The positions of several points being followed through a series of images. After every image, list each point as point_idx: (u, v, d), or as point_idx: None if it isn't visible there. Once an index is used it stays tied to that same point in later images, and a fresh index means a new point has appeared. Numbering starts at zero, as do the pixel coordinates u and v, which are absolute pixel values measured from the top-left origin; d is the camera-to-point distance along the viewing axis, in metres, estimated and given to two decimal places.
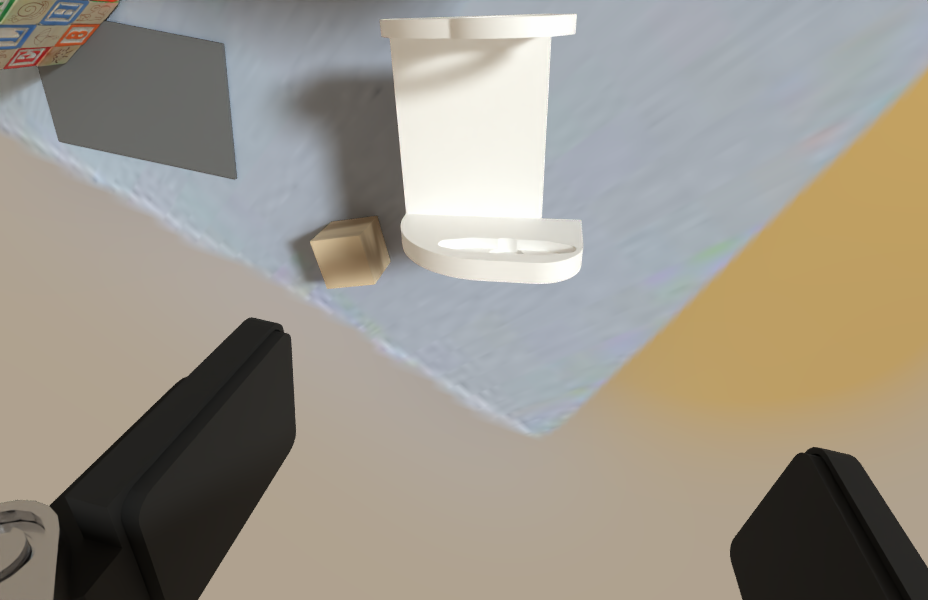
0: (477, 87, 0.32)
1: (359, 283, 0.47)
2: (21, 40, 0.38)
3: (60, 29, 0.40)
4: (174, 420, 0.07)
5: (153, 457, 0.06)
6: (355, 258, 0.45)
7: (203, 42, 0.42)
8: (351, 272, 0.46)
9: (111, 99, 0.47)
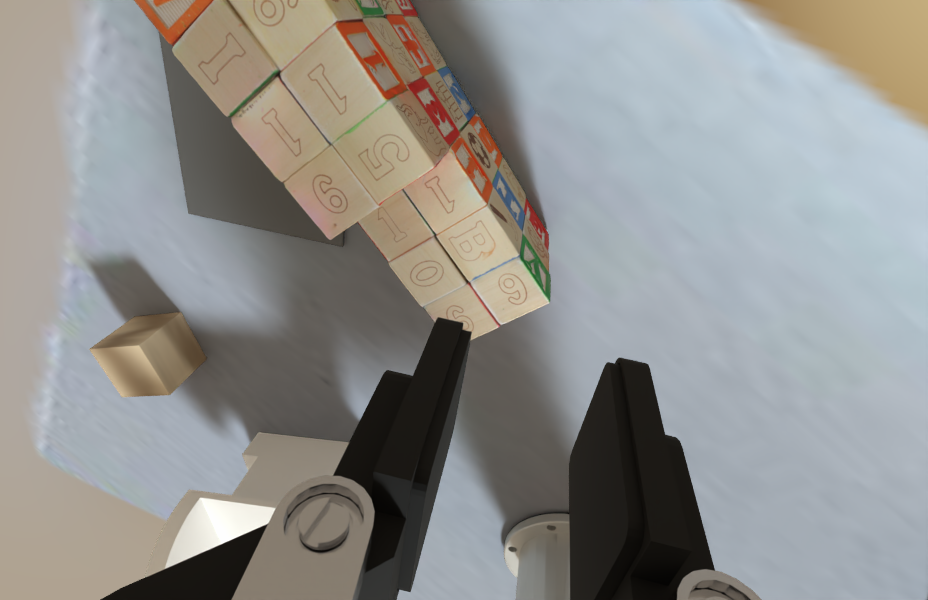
0: None
1: (114, 382, 0.41)
2: None
3: None
4: (425, 408, 0.07)
5: (424, 439, 0.07)
6: (142, 385, 0.41)
7: None
8: (123, 378, 0.41)
9: None
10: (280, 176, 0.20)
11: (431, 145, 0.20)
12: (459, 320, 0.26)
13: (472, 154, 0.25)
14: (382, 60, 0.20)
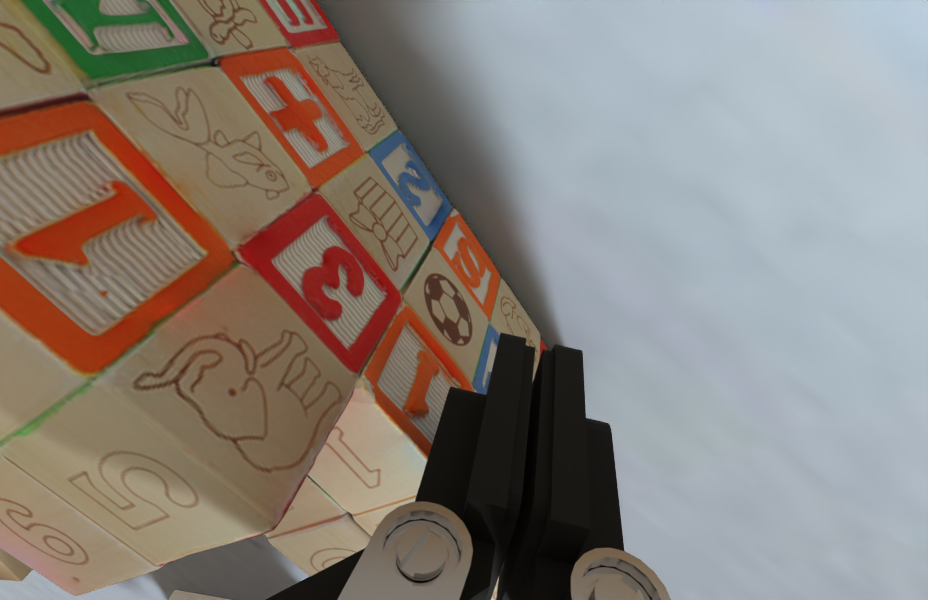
0: None
1: None
2: None
3: None
4: (506, 429, 0.07)
5: (512, 463, 0.07)
6: None
7: None
8: None
9: None
10: None
11: (277, 437, 0.07)
12: None
13: (429, 337, 0.12)
14: (137, 210, 0.07)
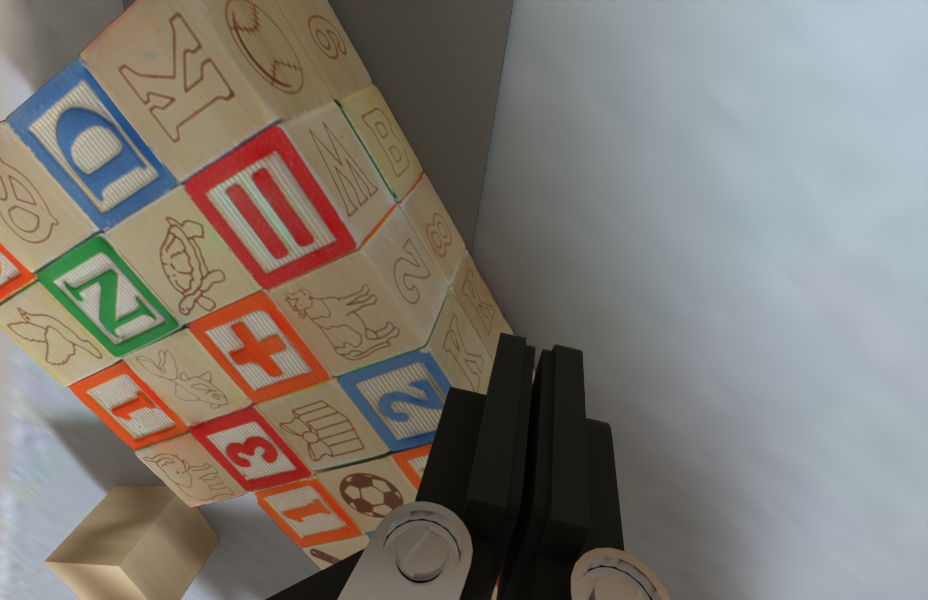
0: None
1: (84, 599, 0.28)
2: None
3: None
4: (506, 429, 0.07)
5: (511, 463, 0.07)
6: None
7: None
8: (97, 597, 0.27)
9: None
10: None
11: (195, 490, 0.17)
12: None
13: (329, 499, 0.16)
14: (144, 406, 0.16)
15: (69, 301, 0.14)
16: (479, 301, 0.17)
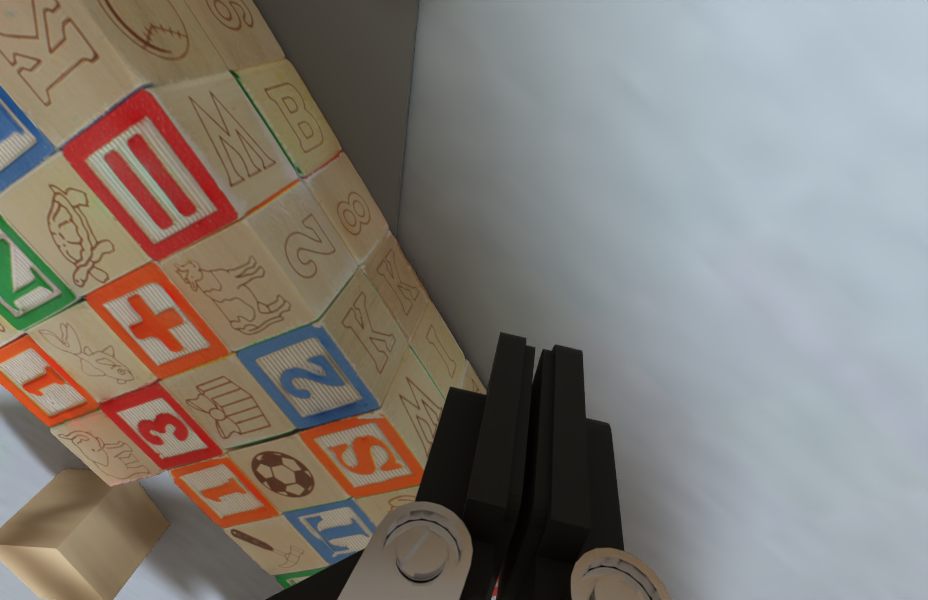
0: None
1: (26, 582, 0.27)
2: None
3: None
4: (506, 429, 0.07)
5: (512, 463, 0.07)
6: (67, 590, 0.27)
7: None
8: (39, 580, 0.27)
9: None
10: None
11: (112, 469, 0.17)
12: None
13: (243, 478, 0.16)
14: (53, 381, 0.15)
15: None
16: (399, 282, 0.17)
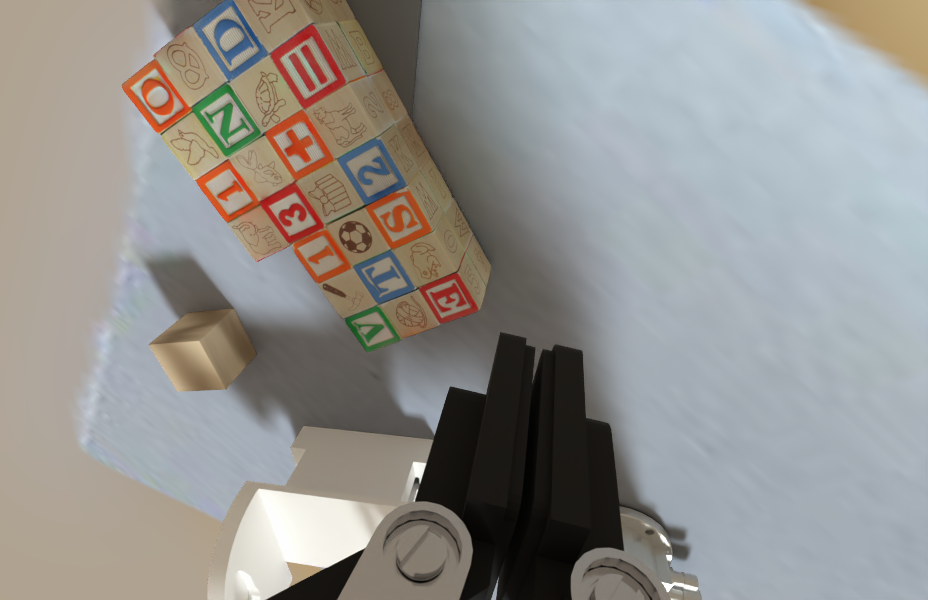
0: None
1: (171, 377, 0.42)
2: None
3: None
4: (506, 429, 0.07)
5: (512, 463, 0.07)
6: (198, 380, 0.42)
7: None
8: (180, 373, 0.42)
9: None
10: None
11: (259, 247, 0.32)
12: None
13: (333, 243, 0.31)
14: (236, 189, 0.30)
15: (206, 123, 0.28)
16: (414, 140, 0.31)
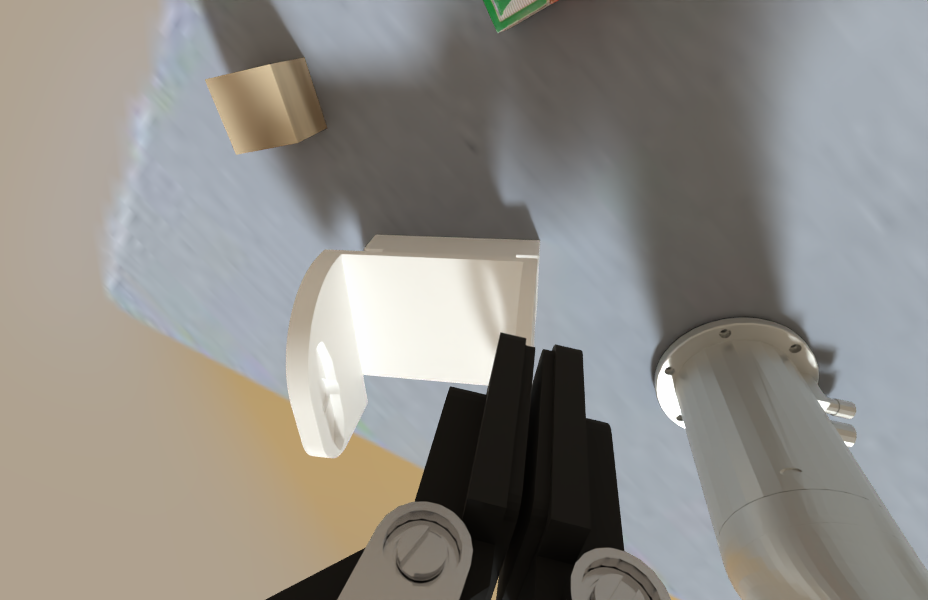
0: (475, 333, 0.34)
1: (230, 132, 0.34)
2: None
3: None
4: (506, 429, 0.07)
5: (511, 463, 0.07)
6: (264, 132, 0.34)
7: None
8: (242, 123, 0.34)
9: None
10: None
11: None
12: None
13: None
14: None
15: None
16: None
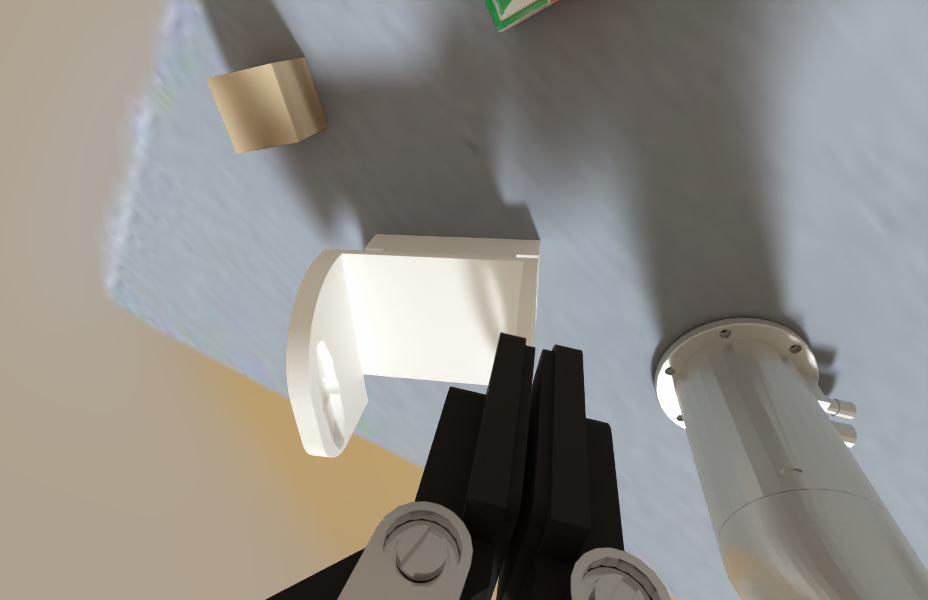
0: (475, 333, 0.34)
1: (230, 131, 0.34)
2: None
3: None
4: (506, 429, 0.07)
5: (512, 463, 0.07)
6: (265, 131, 0.34)
7: None
8: (243, 122, 0.34)
9: None
10: None
11: None
12: None
13: None
14: None
15: None
16: None
